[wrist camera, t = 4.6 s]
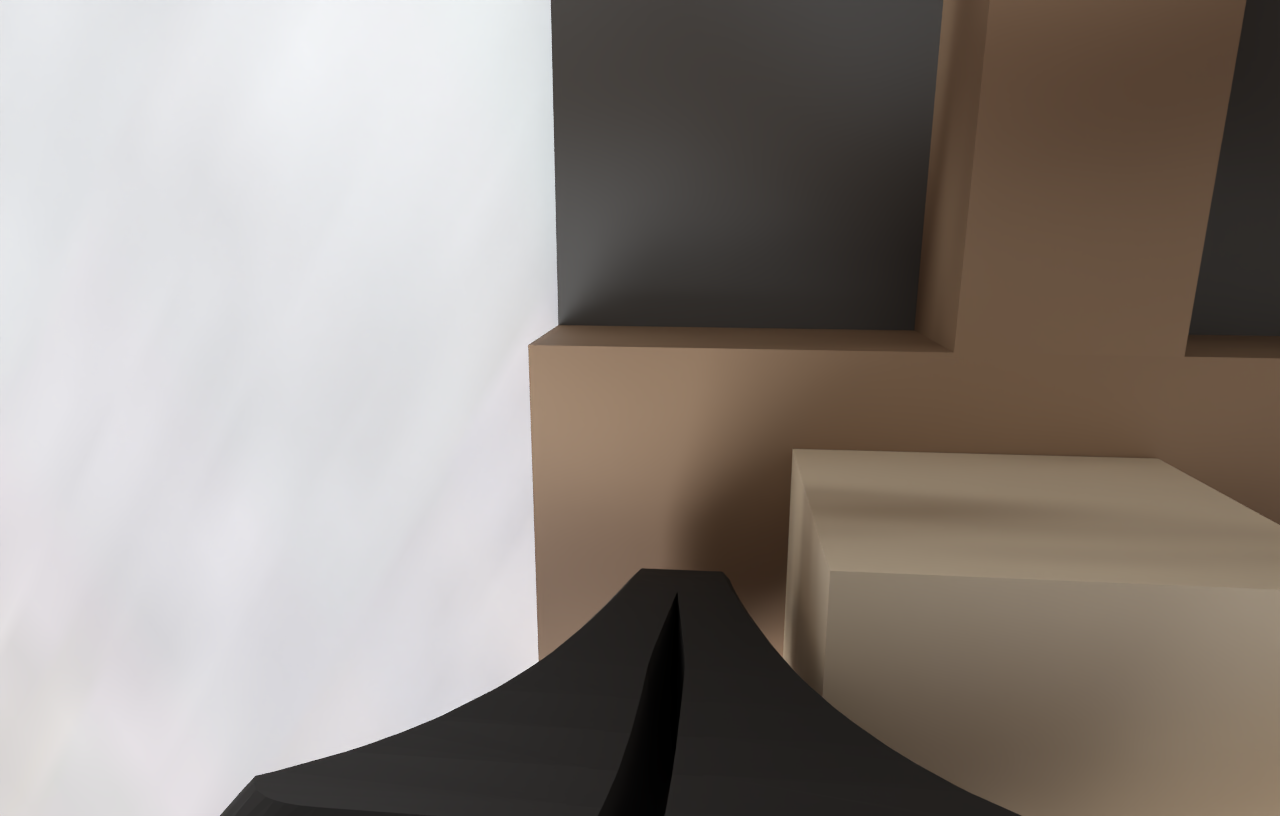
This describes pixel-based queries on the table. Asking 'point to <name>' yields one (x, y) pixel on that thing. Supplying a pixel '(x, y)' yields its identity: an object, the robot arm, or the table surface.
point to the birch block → (1043, 626)
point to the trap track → (892, 261)
